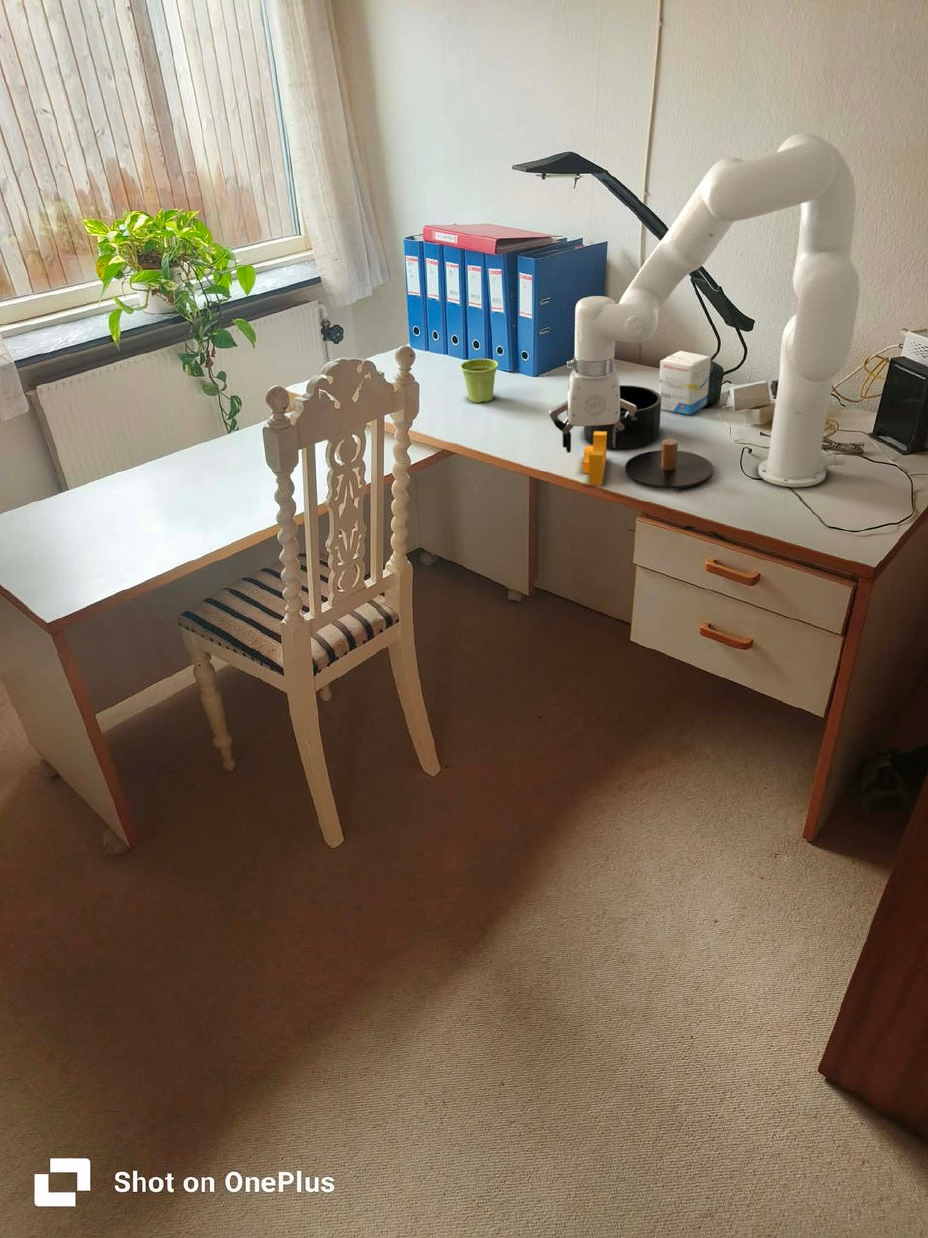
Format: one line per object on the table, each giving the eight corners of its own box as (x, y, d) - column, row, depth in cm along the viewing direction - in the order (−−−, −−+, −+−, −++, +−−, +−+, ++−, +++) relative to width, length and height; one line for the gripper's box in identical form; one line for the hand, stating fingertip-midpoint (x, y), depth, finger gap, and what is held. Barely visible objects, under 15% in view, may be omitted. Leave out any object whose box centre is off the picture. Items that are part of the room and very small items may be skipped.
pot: (648, 414, 203) (649, 378, 199) (669, 451, 185) (671, 413, 181) (577, 419, 204) (577, 384, 199) (592, 457, 186) (592, 419, 181)
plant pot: (506, 394, 221) (505, 360, 216) (487, 407, 214) (485, 372, 210) (475, 390, 225) (473, 356, 220) (455, 402, 219) (452, 368, 214)
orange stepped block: (585, 459, 185) (585, 431, 181) (606, 460, 184) (606, 431, 181) (580, 484, 175) (580, 454, 172) (601, 485, 175) (602, 455, 171)
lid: (700, 452, 184) (702, 421, 180) (722, 487, 170) (726, 455, 166) (617, 458, 184) (618, 428, 181) (633, 494, 170) (635, 463, 166)
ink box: (708, 404, 206) (712, 355, 199) (689, 415, 201) (693, 365, 194) (676, 397, 211) (679, 349, 204) (657, 408, 206) (659, 359, 199)
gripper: (551, 374, 164) (551, 458, 174) (643, 368, 164) (637, 453, 174) (547, 361, 170) (547, 443, 180) (635, 356, 170) (630, 438, 180)
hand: (591, 448), depth 177 cm, fingers open, 9 cm apart
